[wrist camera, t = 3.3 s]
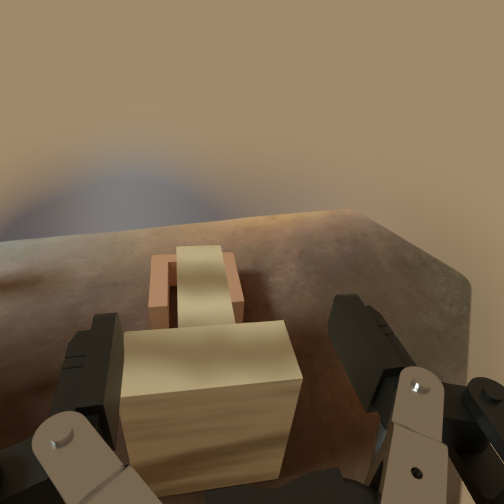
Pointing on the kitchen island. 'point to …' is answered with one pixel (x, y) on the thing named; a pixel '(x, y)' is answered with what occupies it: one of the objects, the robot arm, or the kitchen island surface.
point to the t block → (207, 389)
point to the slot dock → (167, 277)
